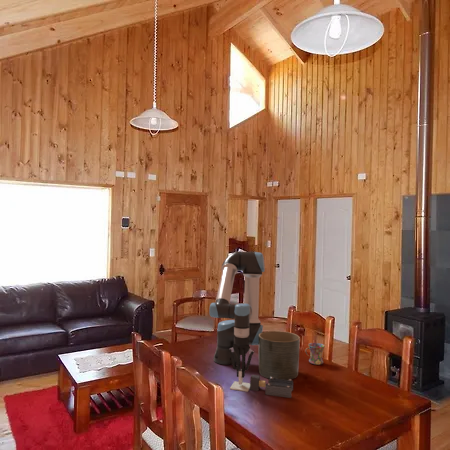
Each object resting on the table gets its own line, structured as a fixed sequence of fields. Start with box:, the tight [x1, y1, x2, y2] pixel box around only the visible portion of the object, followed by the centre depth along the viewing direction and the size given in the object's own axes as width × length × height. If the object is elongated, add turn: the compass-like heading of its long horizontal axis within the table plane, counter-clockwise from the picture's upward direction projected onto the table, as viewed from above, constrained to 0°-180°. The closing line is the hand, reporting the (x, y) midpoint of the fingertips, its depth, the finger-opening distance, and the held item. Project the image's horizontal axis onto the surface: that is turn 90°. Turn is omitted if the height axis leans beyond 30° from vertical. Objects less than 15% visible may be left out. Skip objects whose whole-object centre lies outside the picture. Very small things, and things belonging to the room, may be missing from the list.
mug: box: [304, 342, 325, 366], centre depth 232 cm, size 12×9×11 cm
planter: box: [258, 330, 301, 380], centre depth 215 cm, size 22×22×20 cm
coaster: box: [229, 380, 250, 393], centre depth 195 cm, size 9×9×1 cm
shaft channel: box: [264, 377, 294, 399], centre depth 189 cm, size 12×10×5 cm
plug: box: [249, 374, 267, 392], centre depth 192 cm, size 7×4×6 cm, turn 75°
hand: (240, 383), depth 195 cm, fingers closed
